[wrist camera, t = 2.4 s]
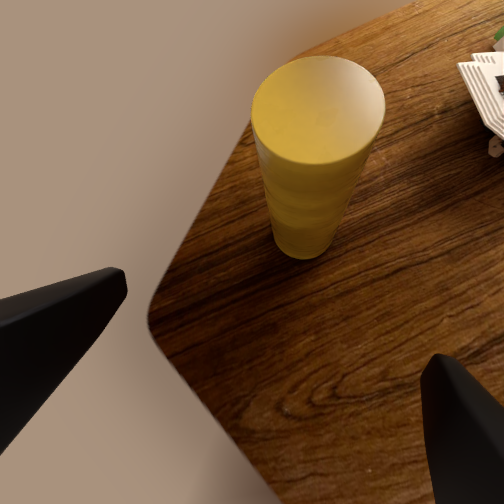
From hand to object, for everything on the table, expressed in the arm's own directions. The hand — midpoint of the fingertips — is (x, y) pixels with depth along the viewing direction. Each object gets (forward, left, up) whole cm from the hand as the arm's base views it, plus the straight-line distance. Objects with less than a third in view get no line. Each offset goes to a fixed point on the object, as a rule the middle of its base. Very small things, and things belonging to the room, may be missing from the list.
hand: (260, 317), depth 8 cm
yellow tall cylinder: (+6, +5, -13) cm, 15 cm away
